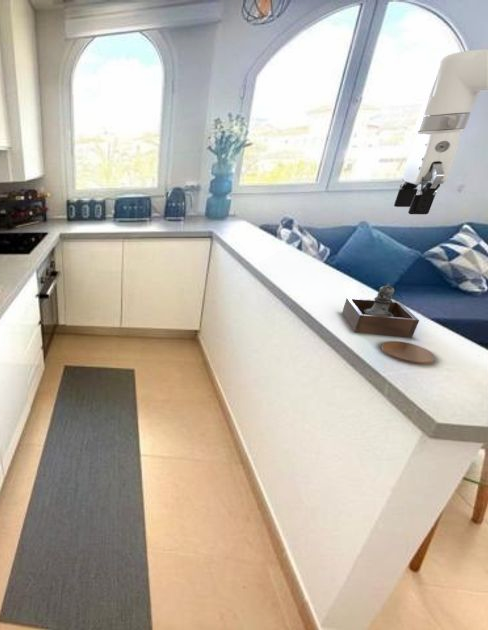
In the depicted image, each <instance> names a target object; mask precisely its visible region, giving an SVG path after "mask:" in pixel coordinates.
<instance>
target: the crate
mask: <svg viewBox="0 0 488 630" xmlns="http://www.w3.org/2000/svg"><path fill="white" fill-rule="evenodd" d="M374 302H375V300H374V299H368V298H357V297H356V298H354V297H346V299H345V301H344V305H343V309H342V311H341V315H342V316H343V318H344V319H345V321H346V322H347V324H348V325H349V326H350V328H351V330H352V331H353V333H357V334H365V335H367V334H368V335H375V336H385V337H394V338H396V337H397V338H405V339H412V338H413V336H414V334H415V332H416V330H417V327H418V325H419V322H420V320H419V319H418V318H417V316H415V315H414V314H413V313H412V312H411V311H410V310H409V309H408V308H407V307H406V306H405V305H403V303H402V302H400V301H397V300H396V301H395V300H392V302H391V303H390V305H389V308H388V312H390V313H392V314H393V317H388V316H376V315H365V312H364V310H365V309H369V308H372V307H373V305H374Z"/></svg>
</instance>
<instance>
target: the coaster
mask: <svg viewBox="0 0 488 630" xmlns="http://www.w3.org/2000/svg"><path fill="white" fill-rule="evenodd" d="M380 349H381V351H382V352H383V353H384V354H386V355H387V356H389V357H391V358H393V359H396V360H398V361H401V362H405V363H408V364H409V363H410V364H417V365H428V364H432V363H434V361H435V359H436V356H435V354H434V353H432V351H430V350H428V349H427V348H425V347H422V346H420V345H416V344H413V343H409V342H406V341H405V342H404V341H398V340H397V341H393V340H392V341H391V340H390V341H385V342H383V343H382V345H381V347H380Z"/></svg>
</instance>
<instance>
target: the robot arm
mask: <svg viewBox="0 0 488 630" xmlns="http://www.w3.org/2000/svg"><path fill="white" fill-rule="evenodd" d="M480 91H488V48H485V49H470V50H465V51H459V52H455V53H451V54H447V55H445V56H444V57H442V58H440V59H439V61H438V62H437V63H436V65H435V67H434V70H433V73H432V76H431V78H430V82H429V85H428V88H427V91H426V94H425V96H424V101H423V103H422V106H421V109H420V112H419V115H418V118H417V121H416V124H415V127H414V130H413V133H412V135H417V136H416V138H415V140H414V143H413V144H412V148H411V150H410V153H409V155H408V158H407V161H406V163H405V166H404V170H403V173H402V182H401V183H400V185H399V189H398V193H397V195H396V198H395V200H394V204H393V207H396V208H408V212H407V214H409V215H428V214H429V213H430V211H431V208H432V205H433V202H434V200H435V197H436V195H437V194H438V190H439V188H440V187H441V185H443V184H445V183H446V182H447V180H448V178H449V175H450V172H451V169H452V166H453V164H454V159H455V157H456V154H457V151H458V147H459V145H460V144H459V143H460V139H461V133H463V132H465V129H466V126H467V124H468V122H469V119H470V117H471V113H472V111H473V108H474V107H475V104H476V101H477V99H478V96H479V93H480Z"/></svg>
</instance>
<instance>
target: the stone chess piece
mask: <svg viewBox="0 0 488 630" xmlns="http://www.w3.org/2000/svg"><path fill="white" fill-rule="evenodd" d="M394 293H395V288H394V287H393V286H391V283H389V282H388V283H387V284H386V285H383V286H381V287H380V288H379V289H378V292H377V295H376V297H374V298H373V300H375V302H374V305H373V307H372V308H369V309H365V310H364V312H365V315H376V316H388V317H393V314H392V313H390V312H388V308H389V305H390V303H391V302H392V301H393V299H392V298H393V295H394Z"/></svg>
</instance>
